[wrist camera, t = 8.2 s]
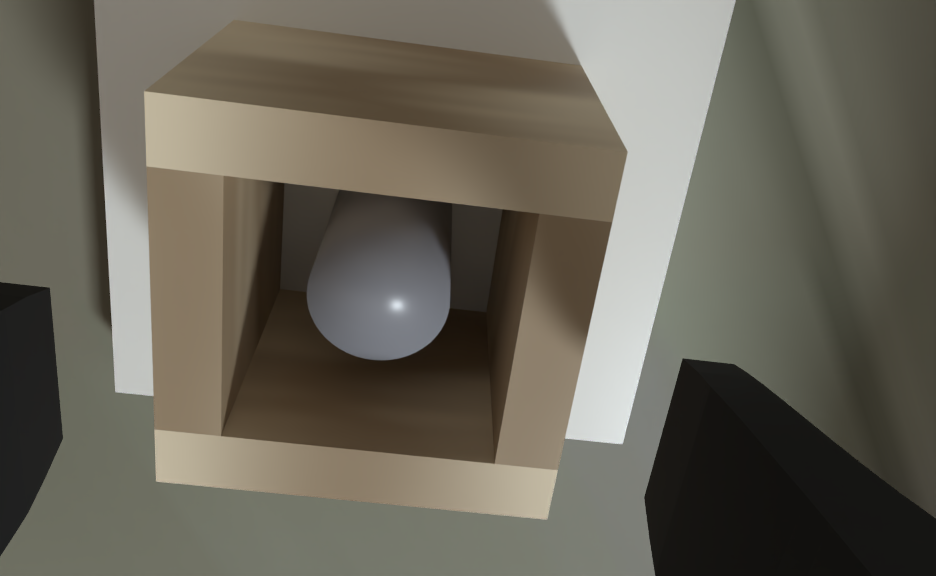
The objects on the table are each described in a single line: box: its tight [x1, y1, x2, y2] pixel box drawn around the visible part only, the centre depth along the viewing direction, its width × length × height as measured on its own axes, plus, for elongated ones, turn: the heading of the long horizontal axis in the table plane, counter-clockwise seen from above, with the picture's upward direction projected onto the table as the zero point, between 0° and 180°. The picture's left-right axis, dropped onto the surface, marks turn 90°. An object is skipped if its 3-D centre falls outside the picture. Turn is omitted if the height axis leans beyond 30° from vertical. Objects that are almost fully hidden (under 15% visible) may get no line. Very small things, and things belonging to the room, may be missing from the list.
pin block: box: [94, 0, 736, 444], centre depth 15 cm, size 10×9×5 cm
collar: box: [144, 20, 628, 520], centre depth 14 cm, size 6×6×4 cm
